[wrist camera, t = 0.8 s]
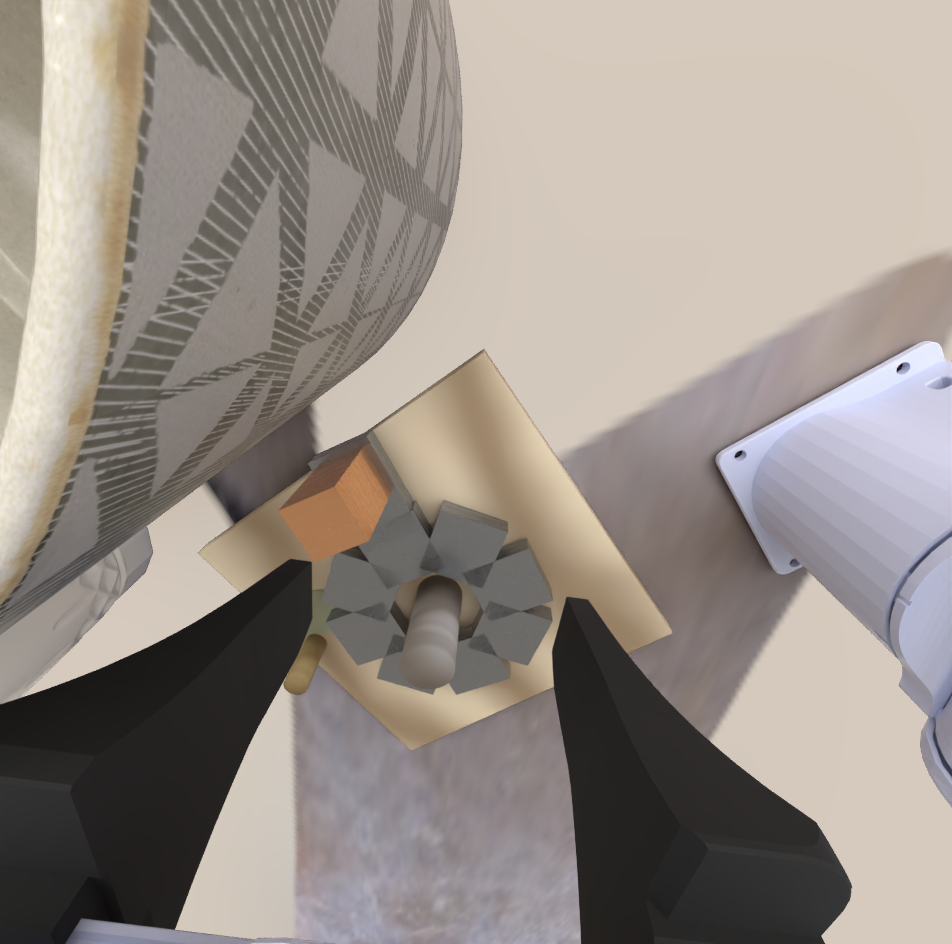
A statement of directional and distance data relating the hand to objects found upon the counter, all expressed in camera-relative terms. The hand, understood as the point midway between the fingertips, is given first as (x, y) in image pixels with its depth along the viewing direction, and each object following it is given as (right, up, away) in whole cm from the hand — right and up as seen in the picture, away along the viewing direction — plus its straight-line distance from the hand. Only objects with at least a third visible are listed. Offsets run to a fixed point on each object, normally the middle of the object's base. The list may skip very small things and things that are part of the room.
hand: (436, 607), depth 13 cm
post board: (-1, -2, +12) cm, 13 cm away
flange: (-2, -1, +10) cm, 11 cm away
